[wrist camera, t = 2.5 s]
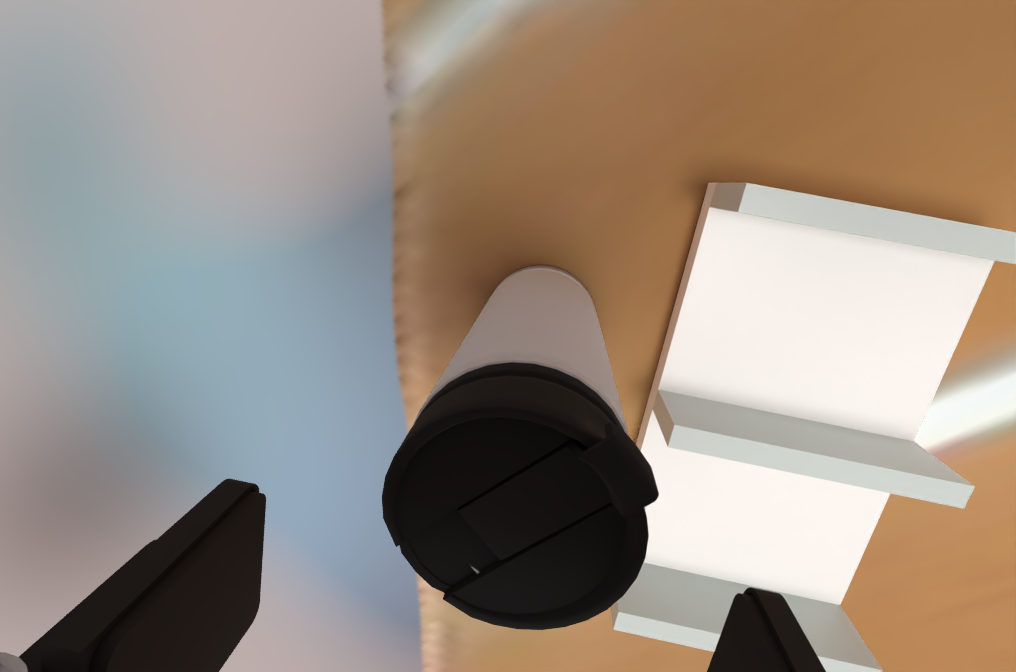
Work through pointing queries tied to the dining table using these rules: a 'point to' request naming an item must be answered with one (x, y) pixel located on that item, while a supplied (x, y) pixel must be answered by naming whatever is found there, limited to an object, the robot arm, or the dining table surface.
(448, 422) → the travel mug
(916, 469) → the dish rack
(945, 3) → the dining table surface
